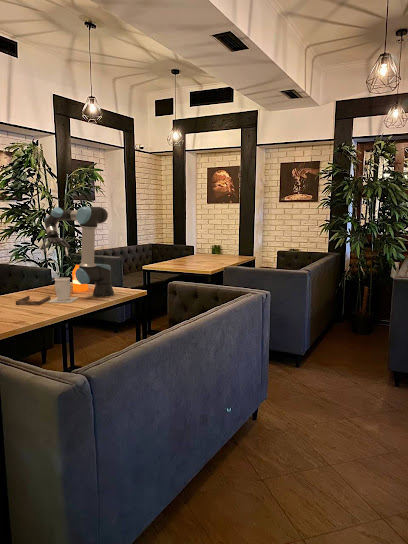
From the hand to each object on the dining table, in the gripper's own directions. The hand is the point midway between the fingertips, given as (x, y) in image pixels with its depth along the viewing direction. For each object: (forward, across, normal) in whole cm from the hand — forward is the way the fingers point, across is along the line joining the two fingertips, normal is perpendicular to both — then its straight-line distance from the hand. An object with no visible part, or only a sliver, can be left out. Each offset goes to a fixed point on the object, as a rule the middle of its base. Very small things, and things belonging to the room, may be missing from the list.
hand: (57, 255), depth 289 cm
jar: (+32, +1, -9) cm, 34 cm away
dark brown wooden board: (+30, +20, -12) cm, 38 cm away
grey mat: (+33, +1, -9) cm, 34 cm away
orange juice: (+11, -19, -31) cm, 38 cm away
